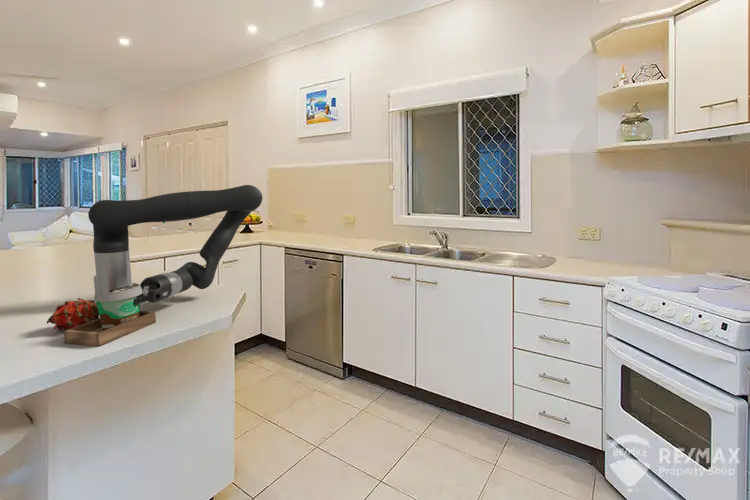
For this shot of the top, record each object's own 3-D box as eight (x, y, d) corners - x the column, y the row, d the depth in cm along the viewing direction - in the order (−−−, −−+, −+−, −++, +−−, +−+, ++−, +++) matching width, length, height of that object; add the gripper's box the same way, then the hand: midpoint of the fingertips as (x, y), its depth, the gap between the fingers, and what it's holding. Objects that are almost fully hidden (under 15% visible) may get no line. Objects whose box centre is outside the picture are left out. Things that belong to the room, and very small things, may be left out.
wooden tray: (64, 343, 94) (63, 331, 93) (125, 320, 111) (124, 309, 110) (99, 346, 92) (98, 334, 91) (155, 322, 109) (155, 311, 109)
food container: (117, 334, 96) (113, 294, 95) (97, 332, 98) (92, 293, 96) (156, 319, 108) (153, 283, 107) (137, 317, 110) (134, 282, 108)
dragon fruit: (107, 328, 109) (55, 347, 100) (93, 306, 112) (41, 323, 103) (108, 308, 104) (53, 326, 95) (93, 286, 107) (38, 302, 98)
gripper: (140, 273, 119) (92, 285, 103) (182, 275, 116) (139, 288, 100) (142, 297, 120) (94, 313, 104) (183, 300, 117) (141, 317, 101)
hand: (116, 301), depth 102 cm, fingers open, 8 cm apart
